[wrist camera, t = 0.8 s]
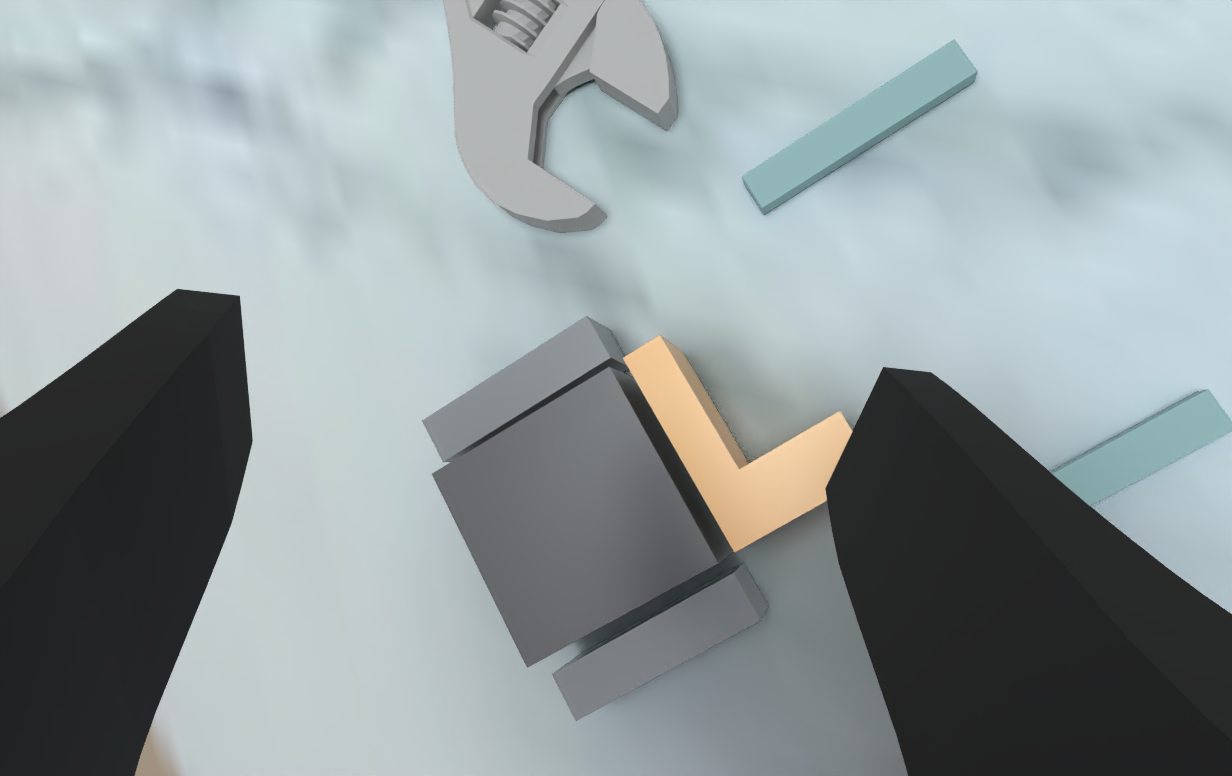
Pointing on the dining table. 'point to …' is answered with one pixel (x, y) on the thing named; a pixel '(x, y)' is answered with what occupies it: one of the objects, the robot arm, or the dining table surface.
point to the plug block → (580, 514)
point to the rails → (885, 115)
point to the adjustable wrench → (546, 91)
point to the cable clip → (660, 634)
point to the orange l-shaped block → (735, 450)
